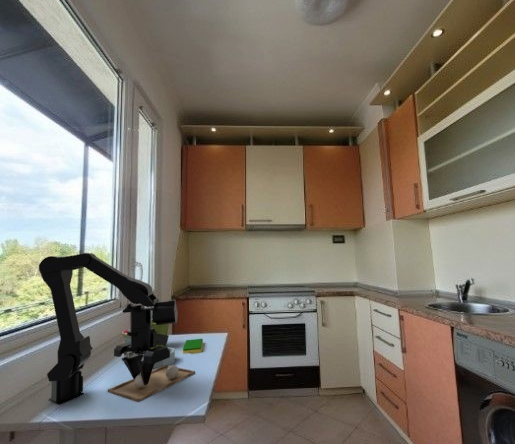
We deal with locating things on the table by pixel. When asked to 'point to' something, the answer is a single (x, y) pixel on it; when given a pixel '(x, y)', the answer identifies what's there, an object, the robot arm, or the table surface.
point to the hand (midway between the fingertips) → (141, 383)
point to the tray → (149, 384)
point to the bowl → (166, 361)
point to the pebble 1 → (139, 381)
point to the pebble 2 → (172, 372)
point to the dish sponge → (193, 346)
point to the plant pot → (160, 330)
